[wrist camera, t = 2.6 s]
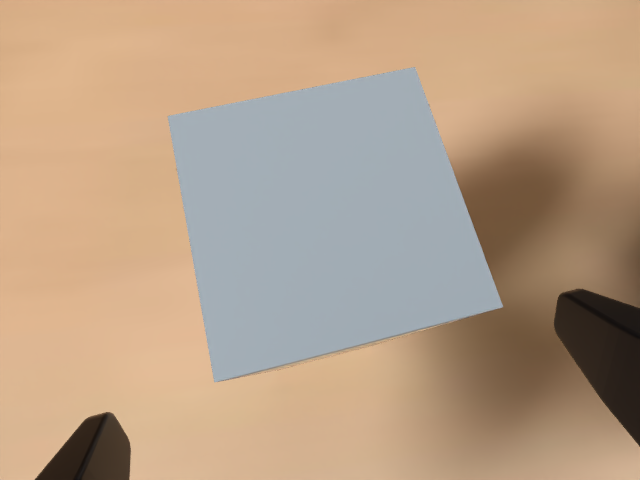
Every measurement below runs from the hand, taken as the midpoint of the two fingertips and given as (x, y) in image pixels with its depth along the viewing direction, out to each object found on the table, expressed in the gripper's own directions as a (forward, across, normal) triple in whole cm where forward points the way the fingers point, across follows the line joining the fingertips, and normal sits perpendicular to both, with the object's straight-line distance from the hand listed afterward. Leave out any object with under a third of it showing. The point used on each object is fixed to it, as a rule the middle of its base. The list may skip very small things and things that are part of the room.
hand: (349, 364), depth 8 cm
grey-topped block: (+8, 0, +5) cm, 10 cm away
